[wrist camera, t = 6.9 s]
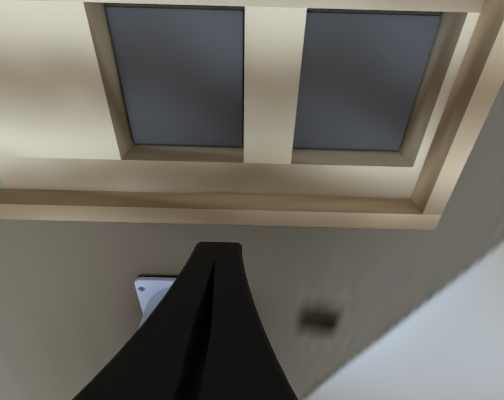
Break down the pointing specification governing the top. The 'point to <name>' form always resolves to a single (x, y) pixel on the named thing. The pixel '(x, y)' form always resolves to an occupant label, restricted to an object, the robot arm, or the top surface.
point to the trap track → (255, 110)
